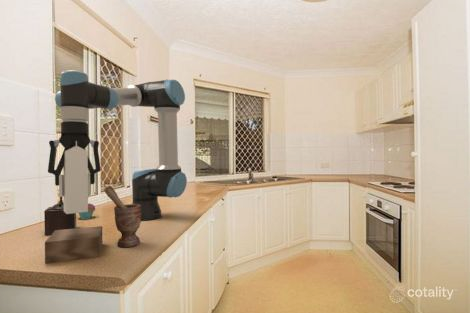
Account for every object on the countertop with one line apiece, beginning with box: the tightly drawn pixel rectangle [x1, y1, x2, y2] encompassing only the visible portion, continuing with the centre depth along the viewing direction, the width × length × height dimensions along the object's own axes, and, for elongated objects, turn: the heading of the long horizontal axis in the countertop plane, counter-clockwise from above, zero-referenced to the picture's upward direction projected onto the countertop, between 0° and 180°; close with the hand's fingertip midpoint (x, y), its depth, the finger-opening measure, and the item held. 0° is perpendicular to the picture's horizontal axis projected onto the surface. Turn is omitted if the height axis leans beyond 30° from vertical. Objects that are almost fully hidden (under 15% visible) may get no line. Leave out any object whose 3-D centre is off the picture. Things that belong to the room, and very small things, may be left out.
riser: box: [44, 225, 103, 264], centre depth 92 cm, size 14×14×6 cm
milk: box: [62, 141, 89, 214], centre depth 92 cm, size 6×6×22 cm
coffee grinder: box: [43, 196, 78, 236], centre depth 119 cm, size 16×11×18 cm
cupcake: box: [78, 203, 96, 220], centre depth 142 cm, size 9×8×12 cm
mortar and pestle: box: [104, 185, 142, 248], centre depth 99 cm, size 12×9×20 cm
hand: (75, 195), depth 92 cm, fingers closed on milk, 7 cm apart
